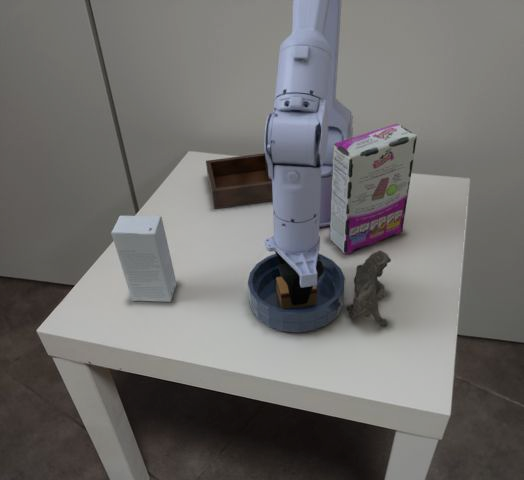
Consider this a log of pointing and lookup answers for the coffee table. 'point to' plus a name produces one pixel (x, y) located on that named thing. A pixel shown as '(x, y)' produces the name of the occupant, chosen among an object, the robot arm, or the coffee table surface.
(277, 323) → the bowl
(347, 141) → the candy bar box
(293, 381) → the coffee table surface
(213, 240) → the coffee table surface
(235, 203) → the box
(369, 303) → the dog figurine
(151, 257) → the cosmetic box
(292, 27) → the robot arm
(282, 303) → the light brown rectangular block
